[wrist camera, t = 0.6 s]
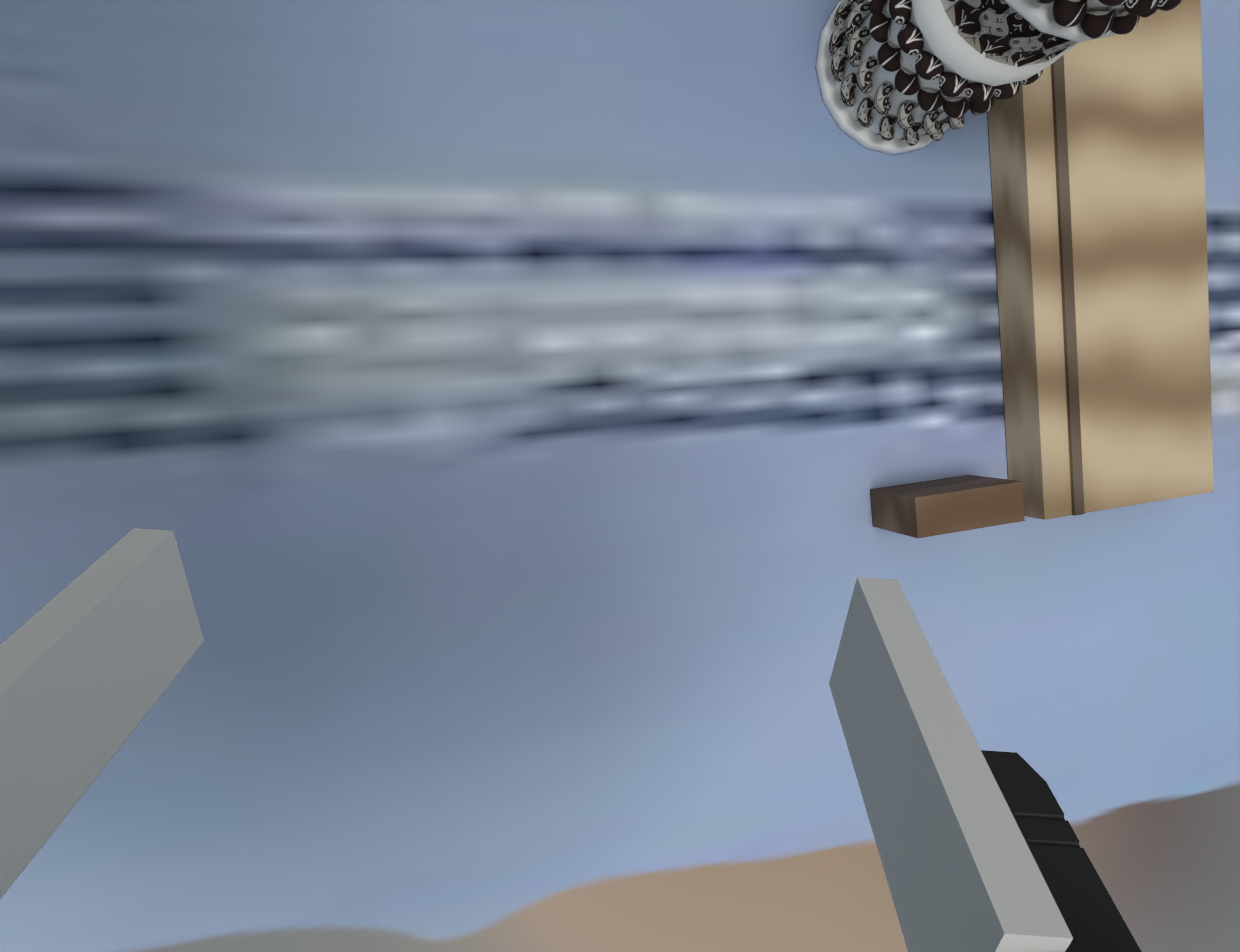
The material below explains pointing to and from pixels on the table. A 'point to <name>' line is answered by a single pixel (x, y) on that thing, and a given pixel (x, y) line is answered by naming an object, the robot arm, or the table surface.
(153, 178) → the table surface
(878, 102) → the decorative candle
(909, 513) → the brown flat block
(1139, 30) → the oak board
